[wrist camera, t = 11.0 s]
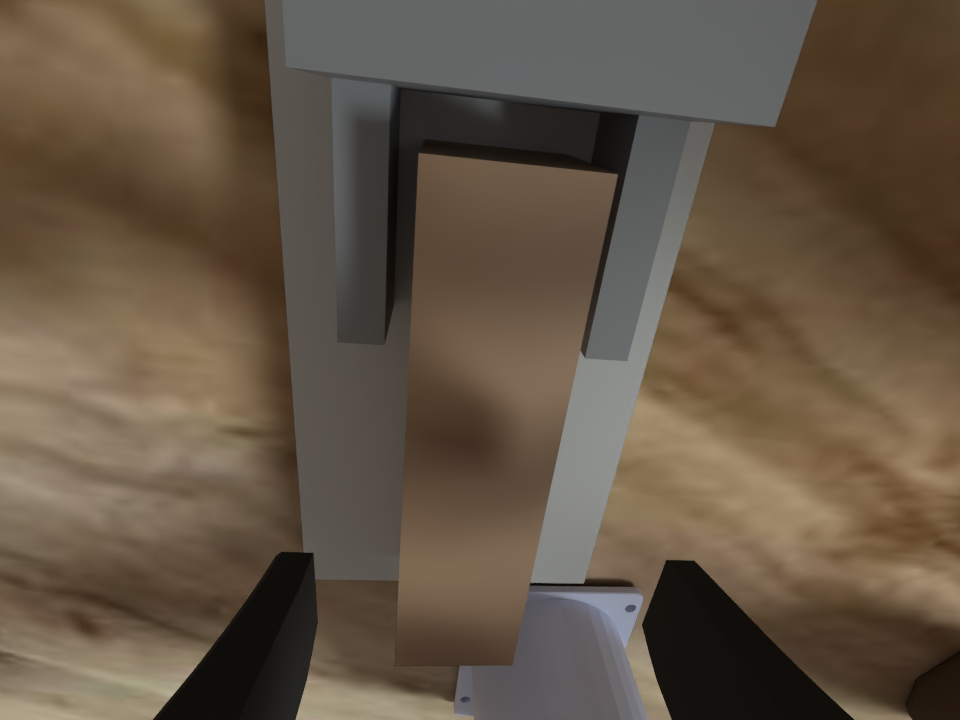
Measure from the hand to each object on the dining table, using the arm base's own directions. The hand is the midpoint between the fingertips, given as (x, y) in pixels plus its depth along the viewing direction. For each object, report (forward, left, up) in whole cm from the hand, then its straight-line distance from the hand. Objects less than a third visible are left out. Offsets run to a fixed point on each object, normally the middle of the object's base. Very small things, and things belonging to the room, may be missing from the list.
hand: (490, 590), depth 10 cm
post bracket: (+1, 0, -8) cm, 9 cm away
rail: (0, 0, -8) cm, 8 cm away
